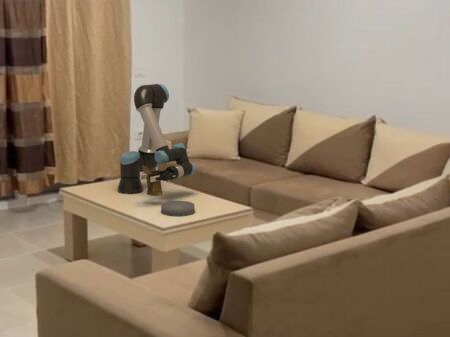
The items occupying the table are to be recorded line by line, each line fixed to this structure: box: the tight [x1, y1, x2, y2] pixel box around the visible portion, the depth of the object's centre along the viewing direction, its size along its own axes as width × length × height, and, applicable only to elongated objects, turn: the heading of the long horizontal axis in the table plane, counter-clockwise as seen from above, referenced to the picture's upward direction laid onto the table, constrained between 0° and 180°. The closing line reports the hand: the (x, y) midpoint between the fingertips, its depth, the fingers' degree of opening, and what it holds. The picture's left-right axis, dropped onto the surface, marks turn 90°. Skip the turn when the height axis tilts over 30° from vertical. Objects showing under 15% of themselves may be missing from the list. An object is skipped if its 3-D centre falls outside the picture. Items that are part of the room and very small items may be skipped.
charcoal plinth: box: [160, 200, 196, 217], centre depth 403 cm, size 18×18×4 cm
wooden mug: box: [142, 165, 163, 197], centre depth 415 cm, size 9×14×18 cm, turn 141°
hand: (145, 178), depth 411 cm, fingers closed on wooden mug, 7 cm apart
